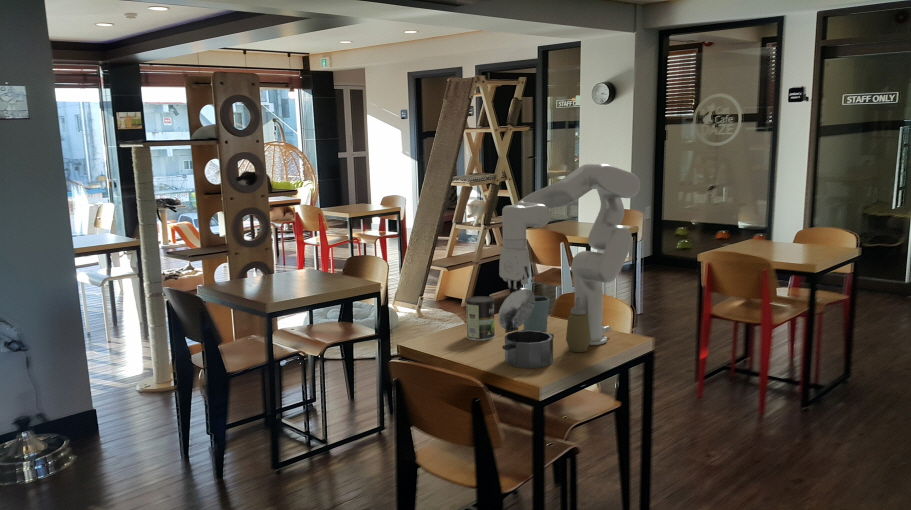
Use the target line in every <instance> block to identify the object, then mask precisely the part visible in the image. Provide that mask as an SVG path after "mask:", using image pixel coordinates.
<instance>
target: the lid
mask: <svg viewBox="0 0 911 510" xmlns="http://www.w3.org/2000/svg"><path fill="white" fill-rule="evenodd" d="M535 296H536V295H535V293H534V292H533V291H532V290H531V289H529V288H527V287H522V288H520V289H517V290H515V291H514V292H512V293H511V294H510V293H509V295H507V296H506V298H505V299H504V301H503V302H502V304H501V305H500V308H499V311H498V314H497V315H498V316H497V318H498V324H499V326H500V327H502V328H503V329H504V333H507V334H508V333H512V332H516V331H518V330H519V327H521V326H523V325H524V322H525V321H526V320H527V319H528V318H529V316H530V315H531V313H532V311H533V309H534V305H535Z"/></svg>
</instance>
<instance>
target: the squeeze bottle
mask: <svg viewBox="0 0 911 510" xmlns="http://www.w3.org/2000/svg"><path fill="white" fill-rule="evenodd" d="M565 340H566V344H567V347H568V349H569V351H570V352H574V353H584V352H586V351H588V348H589V346H590V345H589V343H590V330H589V320H588V316H587V315H586V314H585V308H583V307H582V305H581V300H580V298H579V297H577V298H576V302H575V301H574V306H573V307H571V308H570V314H568V317H567V326H566V335H565Z"/></svg>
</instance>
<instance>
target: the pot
mask: <svg viewBox="0 0 911 510" xmlns="http://www.w3.org/2000/svg"><path fill="white" fill-rule="evenodd" d="M554 337H555V336H554V333H551V332H546V331H545V332H541V331H530V330H528V331H524V330H519V331H518V330H516V331H512V332H508V333H507V334H506V335H505V336H504V345H502V346H501V347H502V349H503V350H504V361H505V362H506V365H508V366H511V367H514V368H519V369H528V370H529V369H541V368H545V367H547V366H550V365H551V364H553V362H554Z"/></svg>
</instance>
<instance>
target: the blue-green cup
mask: <svg viewBox="0 0 911 510" xmlns="http://www.w3.org/2000/svg"><path fill="white" fill-rule="evenodd" d="M534 296H535V305H534V309H533V311H532V313H531V315H530V316H529V318H528V319H527V320H526V321H525V322H524V323H523V331H528V330H530V331H541V332H545V333H546V332H547V331H548V318H549V306H550V298H549V297H547V296H542V295H534Z"/></svg>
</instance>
